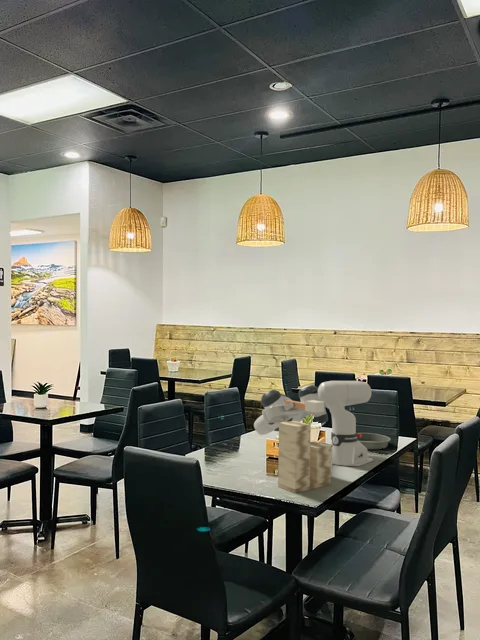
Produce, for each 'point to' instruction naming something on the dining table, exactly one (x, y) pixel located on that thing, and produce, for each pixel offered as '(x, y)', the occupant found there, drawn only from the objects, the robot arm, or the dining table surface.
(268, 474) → the dining table surface
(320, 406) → the block hammer
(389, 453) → the dining table surface
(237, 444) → the dining table surface
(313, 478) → the stepped wooden stack
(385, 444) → the cake pan
